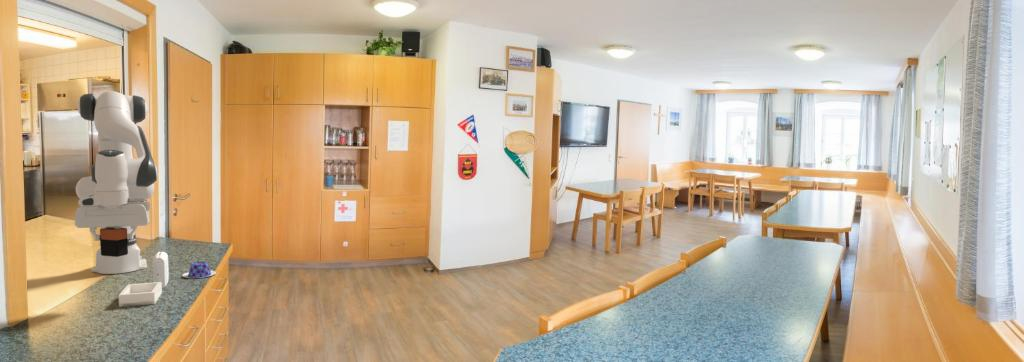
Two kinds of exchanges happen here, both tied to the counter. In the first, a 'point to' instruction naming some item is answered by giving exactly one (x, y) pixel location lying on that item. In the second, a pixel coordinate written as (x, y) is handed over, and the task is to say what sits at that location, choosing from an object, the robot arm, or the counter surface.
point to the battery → (113, 241)
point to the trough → (140, 294)
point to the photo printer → (160, 268)
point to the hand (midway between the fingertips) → (114, 239)
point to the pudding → (199, 270)
